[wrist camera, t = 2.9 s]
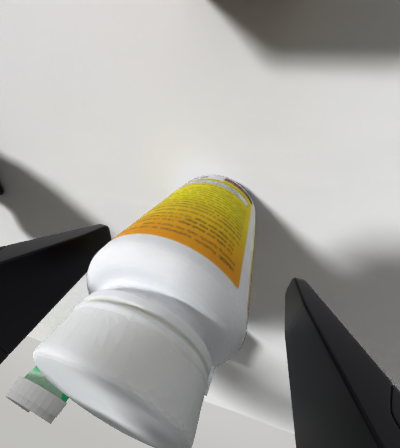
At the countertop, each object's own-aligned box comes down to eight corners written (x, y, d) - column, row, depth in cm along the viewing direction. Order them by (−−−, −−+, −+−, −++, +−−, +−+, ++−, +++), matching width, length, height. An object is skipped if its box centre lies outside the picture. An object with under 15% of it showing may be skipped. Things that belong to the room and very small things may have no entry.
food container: (83, 321, 29) (12, 398, 21) (109, 343, 31) (51, 424, 22) (58, 329, 36) (-5, 391, 27) (80, 347, 37) (27, 412, 29)
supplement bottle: (167, 182, 12) (-49, 309, 4) (249, 162, 10) (170, 361, 2) (191, 247, 14) (87, 421, 6) (261, 243, 12) (257, 508, 4)
